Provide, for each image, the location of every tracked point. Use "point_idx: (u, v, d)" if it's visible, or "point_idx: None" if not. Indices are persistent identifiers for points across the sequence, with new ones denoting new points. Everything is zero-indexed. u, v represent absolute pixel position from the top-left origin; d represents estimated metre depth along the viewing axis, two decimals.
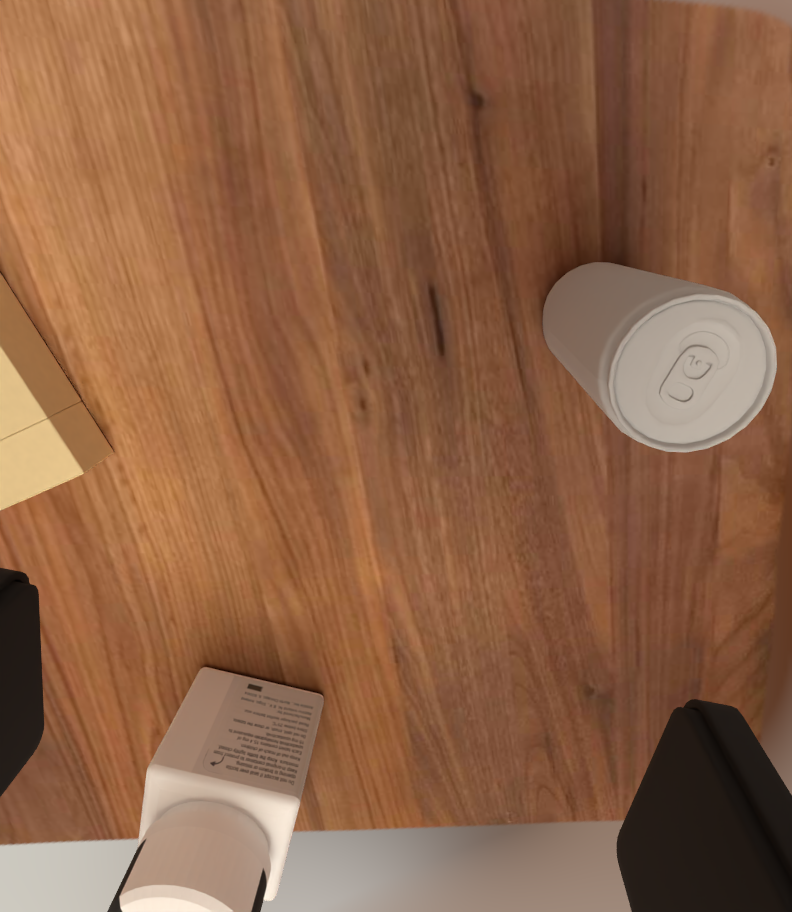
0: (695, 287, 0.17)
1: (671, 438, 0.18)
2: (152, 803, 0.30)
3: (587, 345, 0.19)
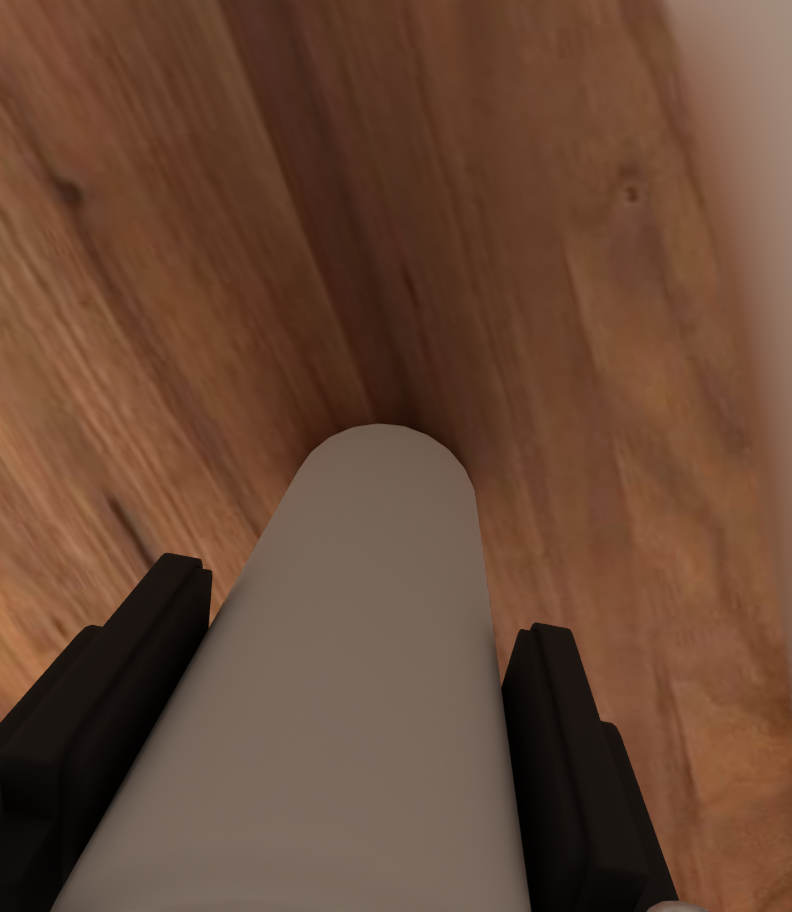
0: (208, 844, 0.05)
1: None
2: None
3: None
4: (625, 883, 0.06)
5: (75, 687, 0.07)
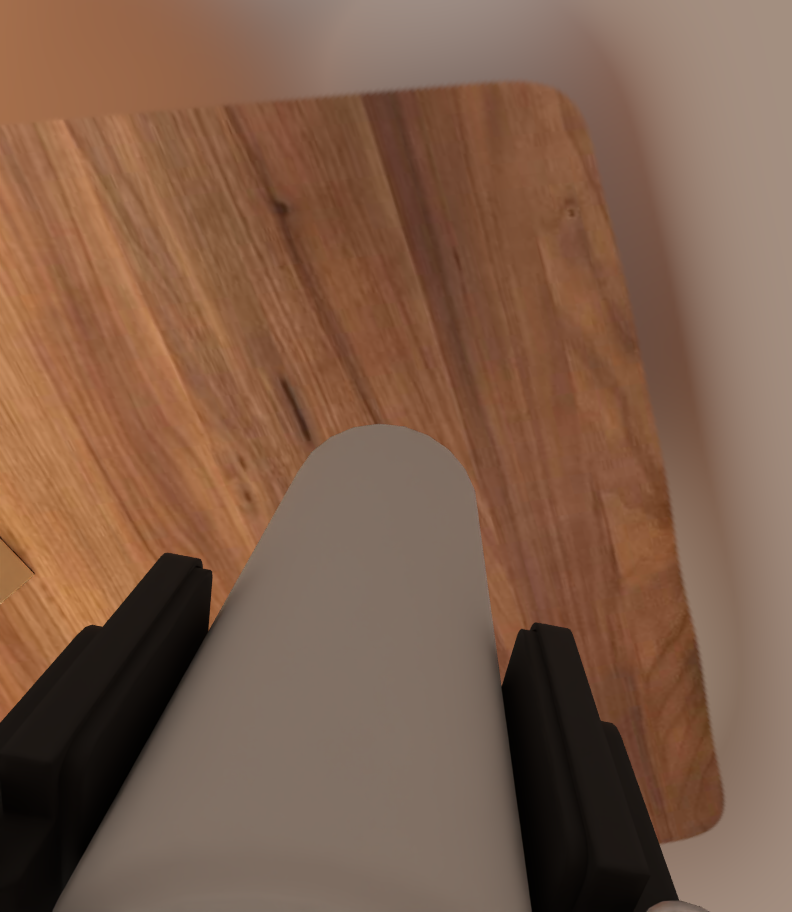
0: (210, 844, 0.05)
1: None
2: None
3: None
4: (625, 883, 0.06)
5: (75, 687, 0.07)
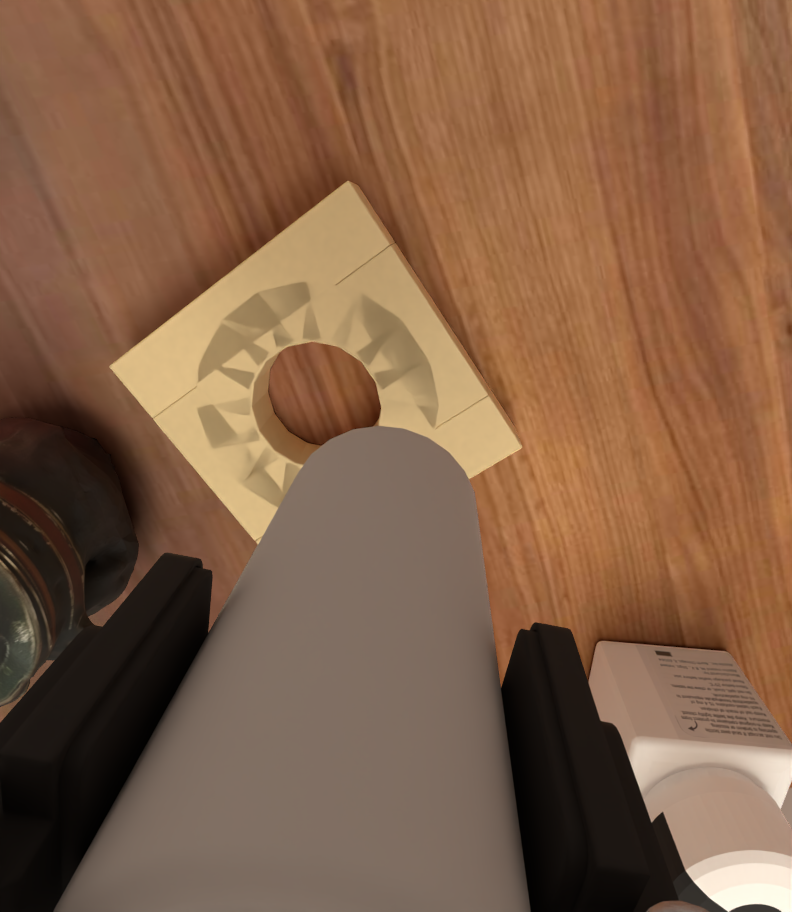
0: (208, 852, 0.05)
1: None
2: (640, 777, 0.29)
3: None
4: (625, 883, 0.06)
5: (75, 687, 0.07)
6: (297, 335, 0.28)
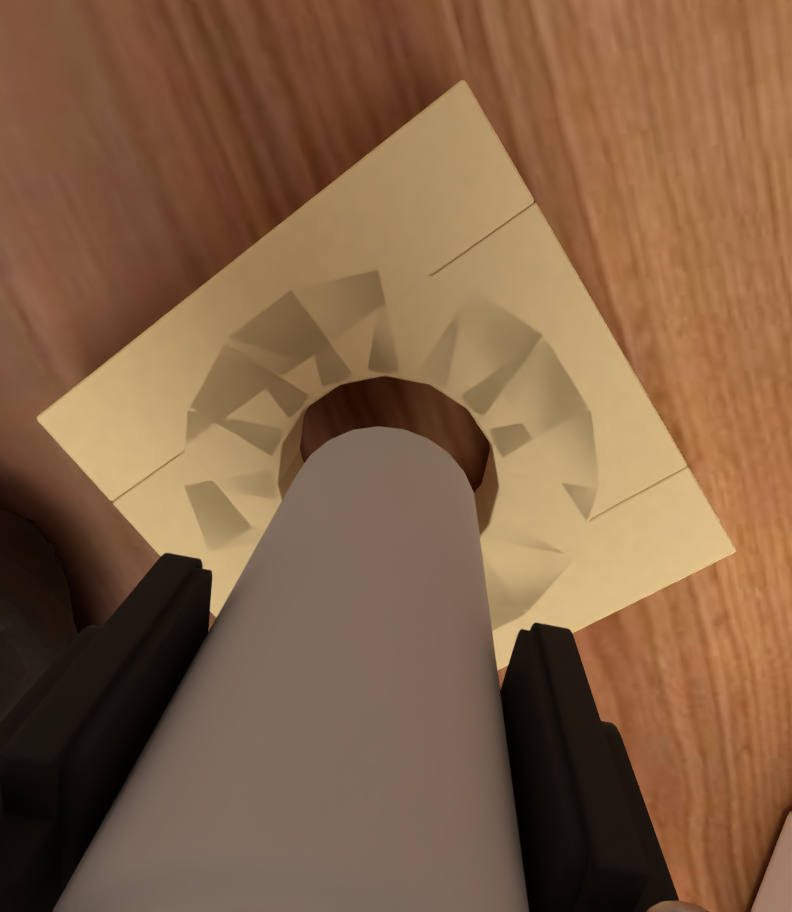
0: (206, 854, 0.05)
1: None
2: None
3: None
4: (625, 883, 0.06)
5: (75, 687, 0.07)
6: (358, 365, 0.16)
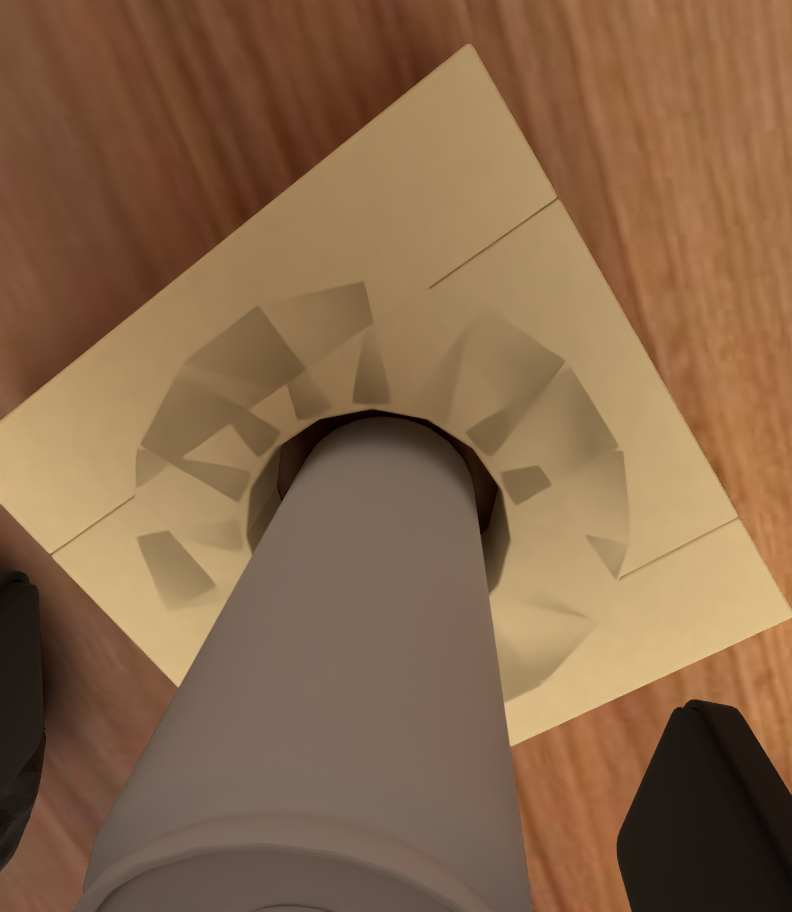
0: (241, 767, 0.06)
1: None
2: None
3: None
4: None
5: None
6: (340, 397, 0.13)
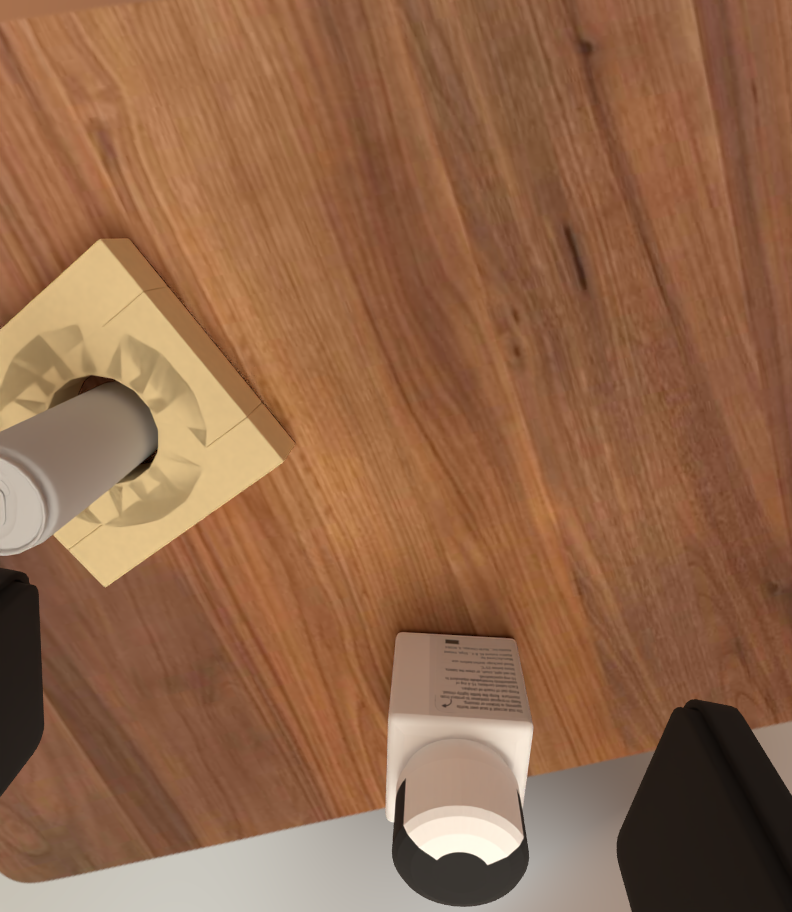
0: None
1: (6, 546, 0.25)
2: (398, 750, 0.33)
3: None
4: None
5: None
6: (77, 370, 0.32)
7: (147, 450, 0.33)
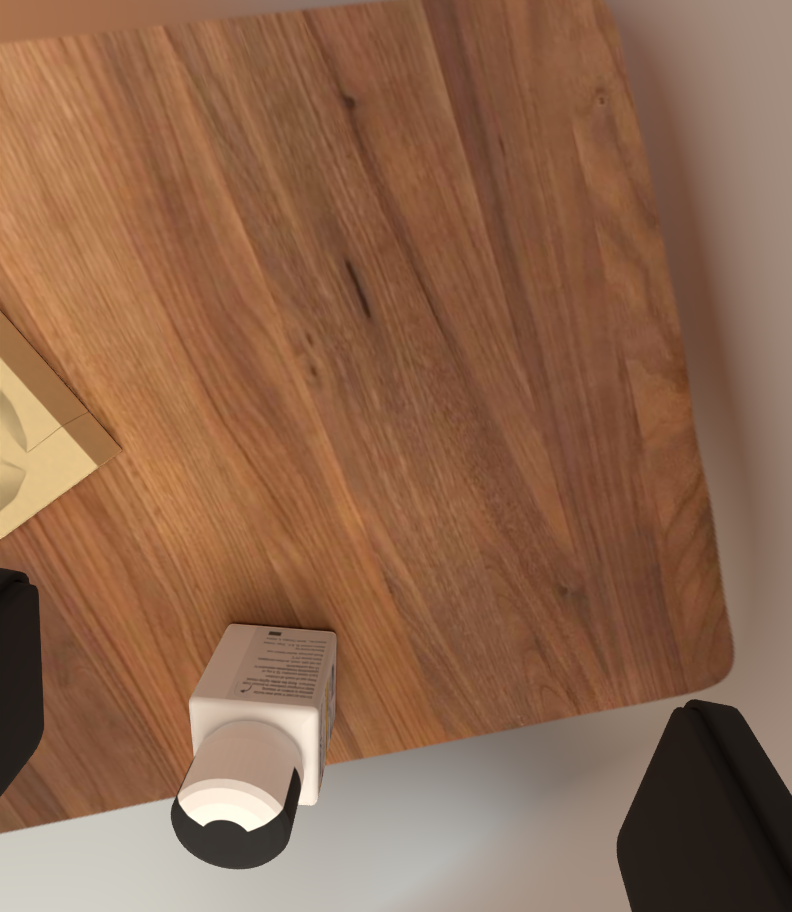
0: None
1: None
2: (198, 729, 0.37)
3: None
4: None
5: None
6: None
7: None
